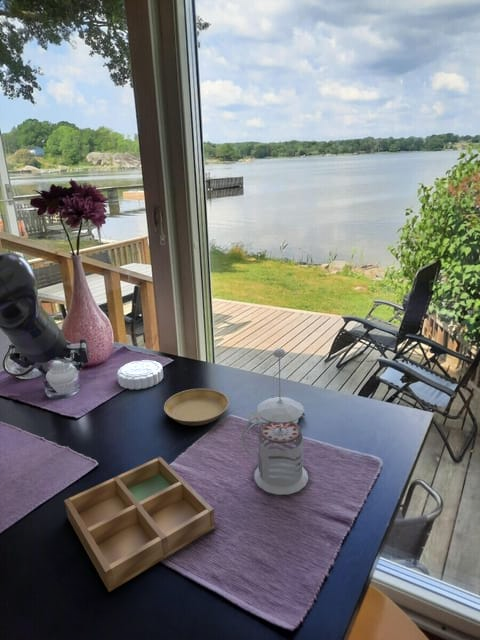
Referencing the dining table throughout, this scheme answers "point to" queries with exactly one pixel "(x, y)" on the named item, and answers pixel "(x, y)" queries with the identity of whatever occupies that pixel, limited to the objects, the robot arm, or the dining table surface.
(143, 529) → the grid
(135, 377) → the mooncake
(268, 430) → the french press
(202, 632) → the dining table surface
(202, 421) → the plant saucer
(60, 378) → the muffin
